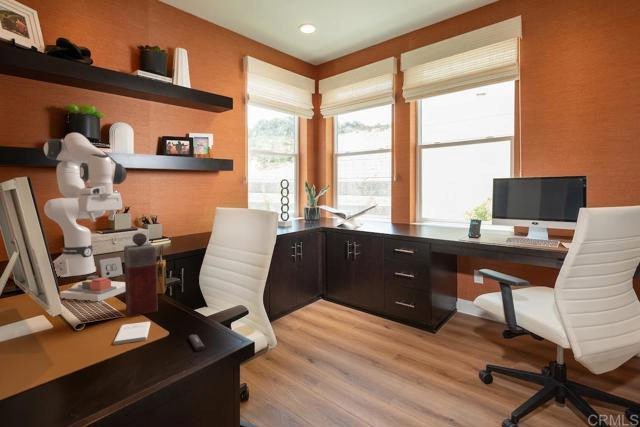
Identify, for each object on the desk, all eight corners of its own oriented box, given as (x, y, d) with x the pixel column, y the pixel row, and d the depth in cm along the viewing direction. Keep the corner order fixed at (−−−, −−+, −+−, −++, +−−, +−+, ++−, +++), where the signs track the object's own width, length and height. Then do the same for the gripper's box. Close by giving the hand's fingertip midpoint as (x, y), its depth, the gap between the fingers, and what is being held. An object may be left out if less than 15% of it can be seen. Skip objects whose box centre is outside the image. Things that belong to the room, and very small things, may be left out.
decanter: (151, 302, 128) (149, 230, 126) (157, 311, 119) (155, 233, 117) (125, 307, 123) (122, 231, 121) (129, 316, 114) (126, 235, 112)
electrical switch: (102, 279, 161) (100, 260, 161) (98, 278, 165) (97, 259, 164) (123, 275, 169) (121, 257, 169) (119, 274, 172) (117, 256, 172)
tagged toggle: (82, 290, 134) (82, 281, 134) (89, 288, 137) (88, 279, 137) (89, 291, 133) (88, 282, 133) (95, 288, 136) (95, 280, 136)
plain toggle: (86, 285, 142) (86, 277, 141) (92, 283, 144) (92, 275, 144) (92, 285, 141) (92, 277, 141) (99, 283, 144) (98, 275, 144)
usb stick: (205, 350, 91) (205, 345, 91) (195, 353, 89) (195, 347, 89) (197, 337, 99) (197, 332, 98) (187, 340, 97) (187, 334, 97)
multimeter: (142, 288, 146) (141, 243, 145) (167, 286, 149) (166, 242, 148) (135, 299, 132) (133, 249, 131) (163, 296, 135) (161, 248, 134)
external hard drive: (113, 346, 93) (121, 329, 105) (146, 342, 96) (150, 325, 108) (113, 341, 93) (121, 324, 104) (146, 336, 96) (150, 320, 108)
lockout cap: (90, 292, 132) (89, 280, 132) (100, 288, 137) (100, 277, 137) (100, 293, 131) (100, 281, 131) (111, 289, 136) (110, 277, 136)
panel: (60, 298, 132) (60, 289, 132) (99, 285, 150) (99, 278, 150) (98, 301, 128) (97, 292, 128) (133, 288, 146) (133, 280, 146)
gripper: (114, 190, 161) (115, 218, 162) (74, 190, 141) (76, 222, 142) (125, 190, 159) (126, 219, 160) (87, 190, 139) (88, 223, 140)
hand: (102, 220), depth 151 cm, fingers open, 8 cm apart
